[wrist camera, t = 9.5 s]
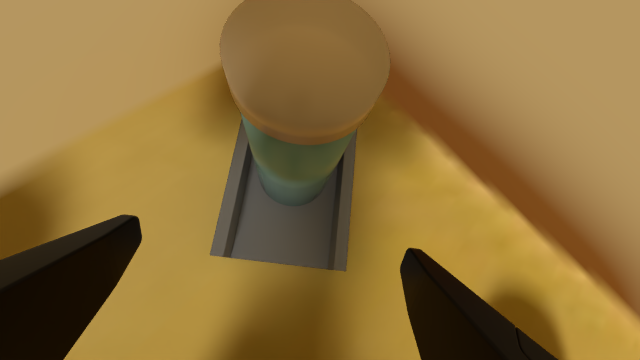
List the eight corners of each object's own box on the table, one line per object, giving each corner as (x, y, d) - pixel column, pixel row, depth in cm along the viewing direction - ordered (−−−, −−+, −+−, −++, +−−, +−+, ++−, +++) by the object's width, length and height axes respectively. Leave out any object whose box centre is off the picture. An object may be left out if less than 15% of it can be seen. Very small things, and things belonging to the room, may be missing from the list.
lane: (337, 270, 20) (361, 273, 14) (220, 256, 19) (191, 253, 13) (351, 110, 24) (373, 58, 18) (256, 93, 24) (247, 33, 18)
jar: (343, 184, 22) (422, 78, 9) (281, 222, 20) (279, 157, 8) (304, 128, 23) (330, -33, 10) (243, 160, 21) (187, 16, 9)
